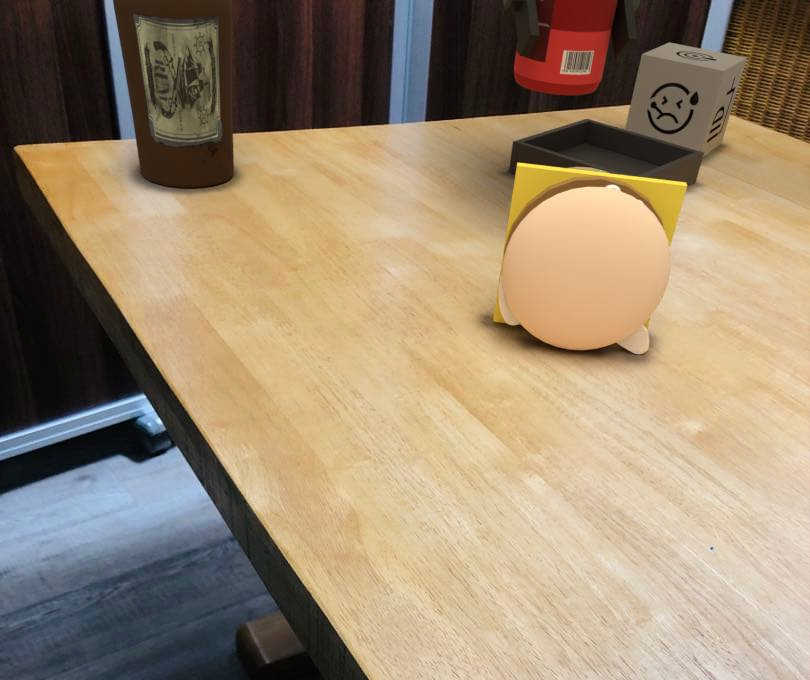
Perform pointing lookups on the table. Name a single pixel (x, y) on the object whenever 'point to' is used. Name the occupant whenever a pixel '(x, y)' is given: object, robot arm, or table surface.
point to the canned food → (567, 47)
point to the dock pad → (607, 152)
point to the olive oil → (180, 88)
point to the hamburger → (586, 255)
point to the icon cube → (685, 95)
